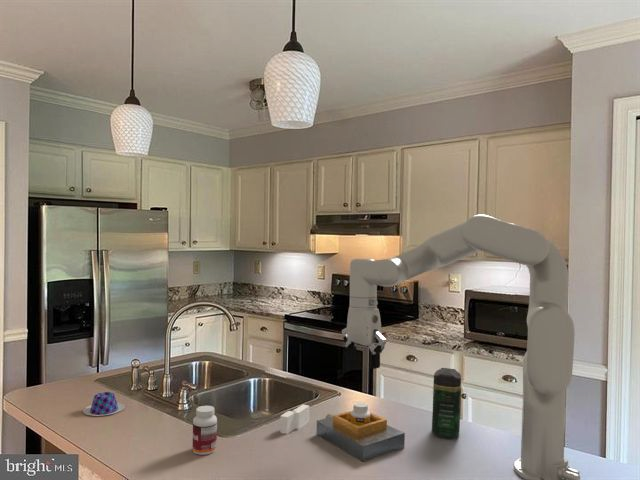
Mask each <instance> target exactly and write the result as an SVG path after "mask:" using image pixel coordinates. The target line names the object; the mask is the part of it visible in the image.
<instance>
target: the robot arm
mask: <svg viewBox="0 0 640 480" xmlns="http://www.w3.org/2000/svg"><path fill="white" fill-rule="evenodd" d="M480 252H483V253H486V254H489V255H492V256H494V257H495V256H496V257H498V258H502V259H504V260H508V261H511V262H514V263H517V264H520V265H525V266H526V267H527V270H528V273H529V299H528V300H529V301H528V311H527V316H526V325H527V341H526V342H527V343H526V345H527V347H526V352H525V354H524V356H523V358H522V406H521V407H522V408H521V410H522V411H521V441H520V442H521V443H520V444H521V445H520V458H518V459H516V460H515V461H514V463H513V469H514V471H515V473H516V474H517V475H519V476H520V477H521V478H523V479H525V480H581V476H580V471H578V470H576V469H573V468H570V466H569V460H568V459H567V458H565V436H566V435H565V434H566V433H565V432H566V431H565V430H566V428H565V426H566V402H567V401H566V400H567V398H566V397H567V396H566V395H567V394H566V392H567V391H566V390H567V389H568V387H569V386H570V384H571V382H572V377H573V369H574V368H573V367H574V366H573V365H574V353H575V352H574V351H575V325H574V321H573V318H572V317H571V316H572V315H570V313H569V307H568V306H569V271H568V266H567V262H566V259H565V258H564V256H563V254H562V253H561V251H560V250H559V248H558V247H557V246H556V245H555V244H554V243H553V242H552V241H551V240H549V239H548V238H547V237H546V236H545V235H544V234H543V233H541V232H540V231H539V230H536V229H532V228H530V227H525V226H522V225H519V224H515V223H512V222H509V221H505V220H501V219H499V218H495V217H493V216H489V215H487V214H477V215H476V214H475V215H473V216H470V217H469V218H468V219H467V220H466V221H463V222H462V223H459V224H457V225H455V226H452V227H450V228H448V229H446V230H444V231H441V232H439V233H437V234H434V235H432V236H430V237H428V238H427V239H426V240H424V242H422V243H421V244H419V245H418V246H415V247H414V248H411V249H409V250H407V251H405V252H402V253H400V254H398V255H396V256H393V257H389V258H383V259H376V260H375V259H373V258H353V259H352V260H350V262H349V306H348V312H347V319H346V322H347V323H346V327H345V328H343V329H342V330H341V334H342V336H343V337H342V338H343V341H344V343H345V344H344V346H345V347H346V361H347V362H353V361H354V362H355V361H356V360H357V345H356V344H358V345H362V346H365V347H368V349H369V350H370V352H371V353H370V354H369V368H370V370H375V369H379V368H380V367H381V354H382V353H383V351H384V349H385V346H386V343H387V338H385V337H384V336H383V335H382V332H383V331H382V321H381V320H382V319H381V314H380V310H379V308H378V304H379V302H378V299H377V298H378V296H377V295H378V294H377V293H378V290H377V289H378V286H380V287H387V288H389V287H395V286H397V285H398V284H402V283H404V282H406V281H408V280H410V279H413V278H415V277H417V276H420V275H422V274H424V273H427V272H430V271H432V270H436V269H441V268H444V267H446V266H449V265H451V264H453V263H457V262H458V261H461V260H463V259H464V258H468V257H470V256H472V255H475V254H478V253H480Z"/></svg>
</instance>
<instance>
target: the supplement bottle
mask: <svg viewBox="0 0 640 480" xmlns="http://www.w3.org/2000/svg"><path fill="white" fill-rule="evenodd" d="M368 407H369V405H368V403H366V402H363V401H361V402H355V403H353V409H351V410H350V411H351V414H350V422H351V423H353V424H355V425H357V426H361V425H364V424H368V423H370V412H371V411H369V408H368Z"/></svg>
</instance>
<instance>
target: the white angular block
mask: <svg viewBox="0 0 640 480" xmlns="http://www.w3.org/2000/svg"><path fill="white" fill-rule="evenodd" d="M310 409H311V408H310V405H308V404H301V405H299V406H298V407H297V408H295V409H293V410H292V411H291V410H288V411H286V412H284V413H283V414H281V415H280V419H279V420H280V422H279V423H280V425H279V428H280V432H279V433H280V434H285V435H288V434H290V433H291V432H292V431H294V430H299V429H301V428H302V427H304V426H305V425H307V424H308V423H309V422H310Z"/></svg>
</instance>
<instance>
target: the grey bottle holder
mask: <svg viewBox="0 0 640 480" xmlns="http://www.w3.org/2000/svg"><path fill="white" fill-rule="evenodd" d="M351 411H352V410H350V411H346V412H343V413H337V414H335V415H333V414H331V413H327V414H326V415H325V418H321V419H318V420H316V434H315V435H316V436H318V437H320V439H323V440H324V441H327V442H328V443H330V444H332V445H334V446H336V448H338V449H340V450H342V451H343V452H345V453H347V454H349V455H350V456H352V457H354V459H355V458H356V459H357V460H359V461H361V462H363V463H364V462H367V461H369V460H373V459H376V458H379V457H381V456H384V455H388V454H390V453H393V452H396V451H399V450H401V449H404V448H405V443H406V442H405V440H406V433H405V432H404V431H401V430H400V429H397V428H395V427H392V426H391V425H389V424H388V420H387V419H386V418H384V417H382V416H379V415H377V414H375V413H373V412H371V411H369V412H370V423H368V424H364V425H361V426H357V425H355V424H353V423H351V422H350V414H351Z"/></svg>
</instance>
